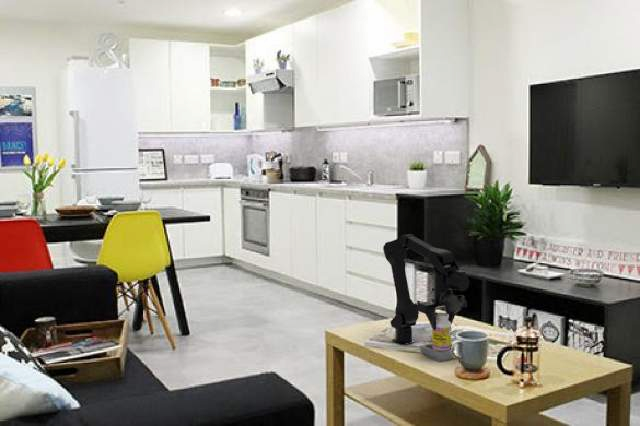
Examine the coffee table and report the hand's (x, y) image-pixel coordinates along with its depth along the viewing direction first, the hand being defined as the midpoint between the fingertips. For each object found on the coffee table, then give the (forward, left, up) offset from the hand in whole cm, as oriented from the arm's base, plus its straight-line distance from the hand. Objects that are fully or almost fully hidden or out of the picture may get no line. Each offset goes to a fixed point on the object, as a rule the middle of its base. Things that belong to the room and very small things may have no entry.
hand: (441, 328), depth 245 cm
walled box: (0, 0, -10) cm, 10 cm away
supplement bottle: (0, 0, -8) cm, 8 cm away
